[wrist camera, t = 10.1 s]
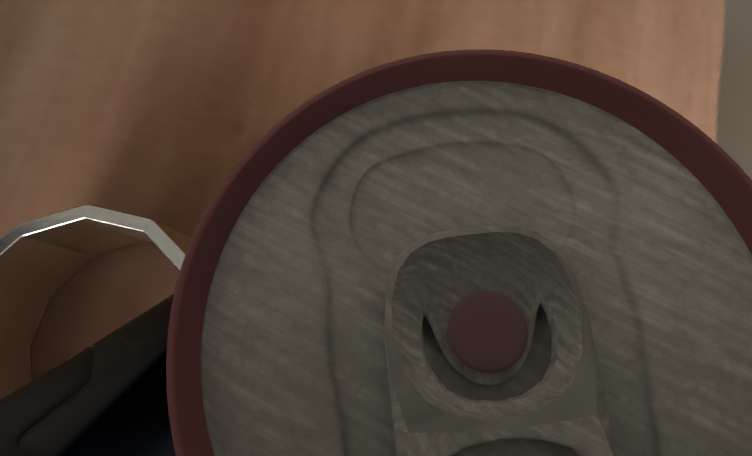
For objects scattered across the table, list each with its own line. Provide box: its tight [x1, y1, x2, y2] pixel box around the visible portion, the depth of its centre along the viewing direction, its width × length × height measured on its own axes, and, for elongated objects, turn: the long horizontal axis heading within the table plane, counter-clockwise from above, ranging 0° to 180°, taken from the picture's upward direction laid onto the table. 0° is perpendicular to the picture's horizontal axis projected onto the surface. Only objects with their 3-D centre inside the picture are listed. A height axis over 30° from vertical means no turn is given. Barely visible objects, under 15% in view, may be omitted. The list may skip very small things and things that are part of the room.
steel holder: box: [0, 205, 192, 399], centre depth 19 cm, size 11×11×4 cm
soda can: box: [166, 50, 752, 456], centre depth 9 cm, size 7×7×12 cm
